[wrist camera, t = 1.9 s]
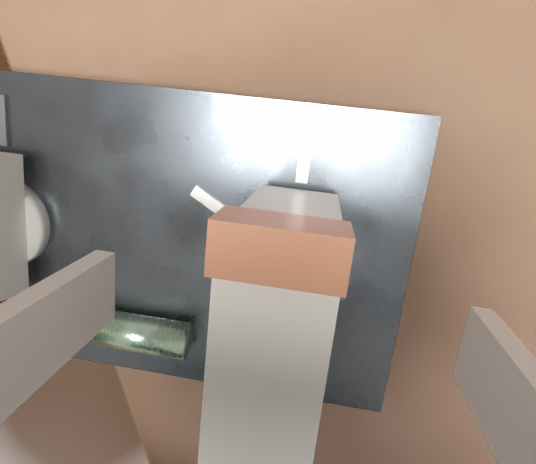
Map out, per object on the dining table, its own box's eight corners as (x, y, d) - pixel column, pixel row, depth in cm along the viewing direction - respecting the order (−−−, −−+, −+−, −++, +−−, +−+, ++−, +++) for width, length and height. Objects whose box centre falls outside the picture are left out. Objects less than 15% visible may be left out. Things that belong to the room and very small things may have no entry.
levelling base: (376, 390, 25) (385, 437, 21) (-46, 318, 28) (-105, 348, 24) (431, 117, 21) (454, 115, 17) (-71, 64, 24) (-147, 52, 20)
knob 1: (327, 338, 23) (331, 509, 13) (237, 323, 23) (170, 476, 13) (352, 184, 20) (380, 242, 10) (252, 172, 21) (185, 216, 11)
